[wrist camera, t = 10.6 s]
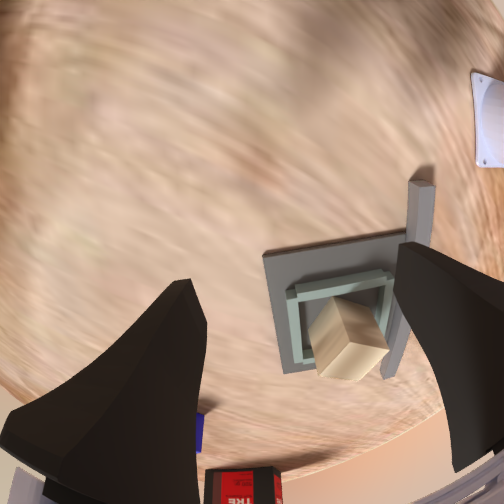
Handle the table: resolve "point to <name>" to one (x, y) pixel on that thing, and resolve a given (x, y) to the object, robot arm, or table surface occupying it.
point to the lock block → (346, 340)
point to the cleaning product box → (243, 486)
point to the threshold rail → (417, 231)
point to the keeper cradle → (328, 289)
